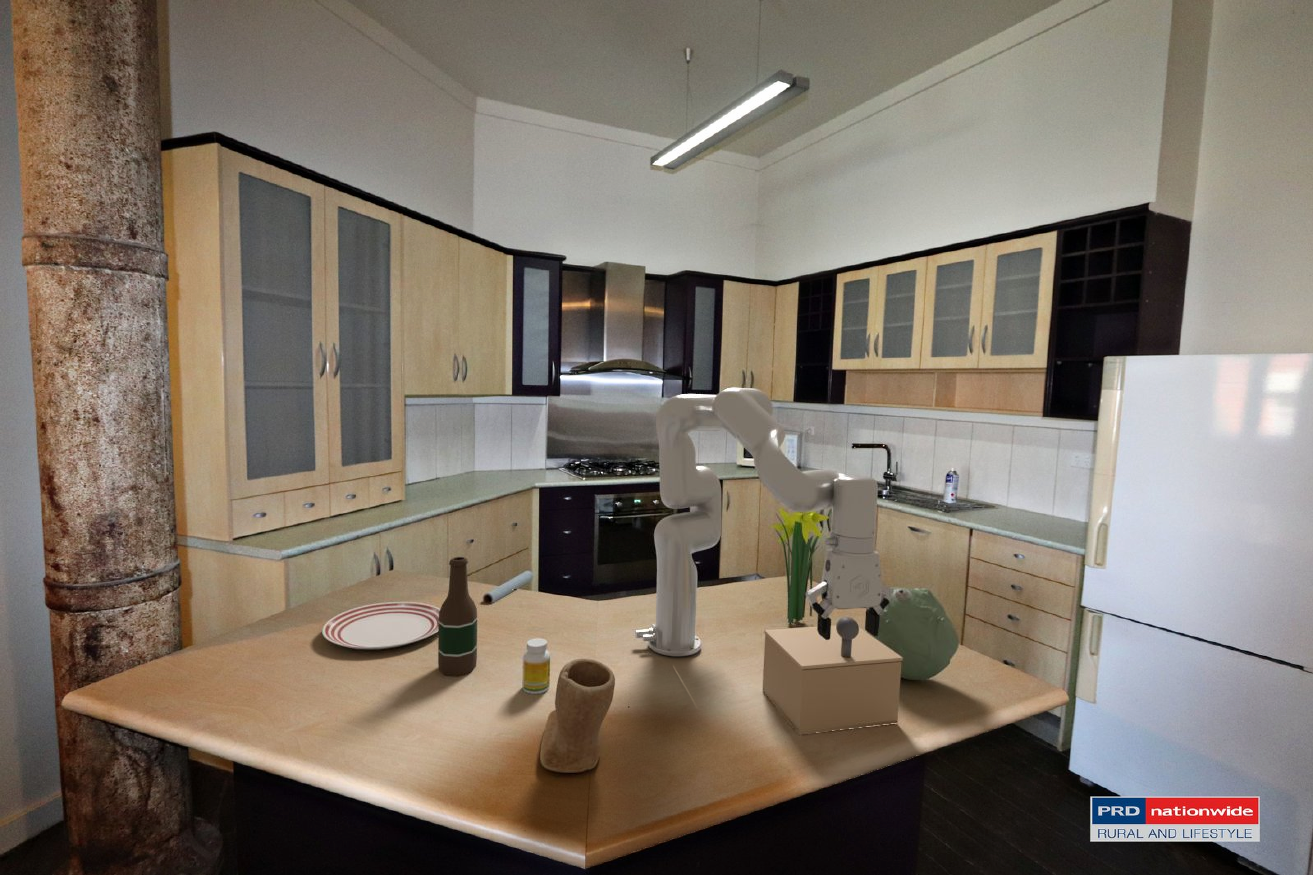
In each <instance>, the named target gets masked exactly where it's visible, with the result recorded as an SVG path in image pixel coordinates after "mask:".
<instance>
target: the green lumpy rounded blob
mask: <svg viewBox="0 0 1313 875" xmlns="http://www.w3.org/2000/svg"><path fill="white" fill-rule="evenodd" d="M890 588H892V589H893V590H894V592H893V594H892V596H891V598H890V599H889V604H888V605H887V606H886V607H885V608H884V609H883V613H882V614H881V615H880V619H879V629H878V636H873V635H872V634H870V633H869V632H867V631H866V632H867V633H868V634H870V635H871V636H872V637H874V638H875V639H877V640H878V641H880V642H881V643H882V644H884V645H885V646H887V647H888V648H890V649H891V650H893V651H894V652H895V653H897V654H898V655H900V656H901V657H903V661H901V662H902V663H901V678H903V679H904V680H908V681H920V680H929V679H931V678H934V677H936V676H937V675H938V674H940V673H942V672H943V671H944V669H946V668H948V666H949V665H950V663H951V660H952V659H953V657H954V656H955V654H956V653H957V651H958V649H959V645H960V644H959V643H960V640H959V637H958V633H957V630H956V629H955V628H954V625H953V623H952V621H951V619H950V618H949V616H948V614H947V613H946V610H945V608H944V606H943V605H942V603H941V602H940V600H939V599H938V598H937V597H936V595H935V594H934V593H933V592H932V591H931V590H930V589H929V588H918V587H915V588H909V587H906V586H904V587H900V586H893V587H890ZM867 609H869V608H865V610H867Z"/></svg>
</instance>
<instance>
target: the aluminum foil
mask: <svg viewBox="0 0 1313 875" xmlns="http://www.w3.org/2000/svg"><path fill="white" fill-rule="evenodd" d="M533 578H534V574H533V572H531V571H530V570H525V571H523V572H522V573H520V574H518V575H517V576H515V577H513V578H511V579H509V580H508V581H506V582H504V583H502V584H500V585H499V586H497V587H495V588H493V589H492V590H489V591H488V592H486V593H483V594H484V595H482V601H483V603H488V602H489V601H490V602H489V604H494V603H495V602H498V601H499V600H501V599H502V598H504V597H505V596H507V595H509V594H511V593H512V592H514V591H515V590H512V589H516V590H518V589H520V588H522V587H523V586H524V585H526V584H529V583H530V582H531V581H533Z"/></svg>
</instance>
